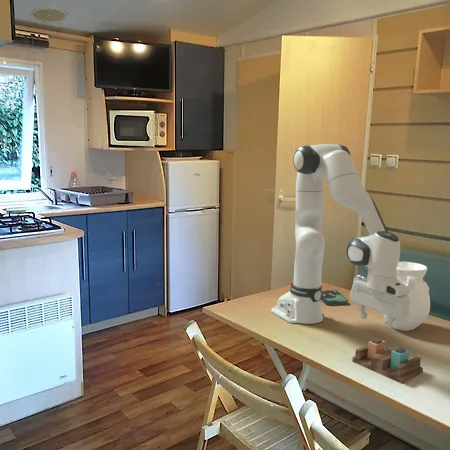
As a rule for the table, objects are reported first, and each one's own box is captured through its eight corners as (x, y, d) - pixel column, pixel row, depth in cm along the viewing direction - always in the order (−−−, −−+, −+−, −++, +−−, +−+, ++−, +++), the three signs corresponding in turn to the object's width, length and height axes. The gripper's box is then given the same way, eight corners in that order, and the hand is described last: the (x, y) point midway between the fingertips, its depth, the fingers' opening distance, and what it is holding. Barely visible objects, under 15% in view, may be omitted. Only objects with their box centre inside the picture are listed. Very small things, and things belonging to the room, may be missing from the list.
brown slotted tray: (352, 361, 155) (353, 348, 154) (373, 352, 163) (374, 339, 162) (401, 383, 141) (403, 369, 141) (422, 372, 149) (423, 358, 148)
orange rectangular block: (367, 357, 155) (368, 340, 154) (375, 353, 158) (377, 336, 157) (375, 361, 152) (376, 343, 151) (383, 356, 156) (385, 339, 155)
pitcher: (432, 337, 176) (439, 273, 171) (381, 333, 179) (386, 269, 175) (422, 319, 194) (428, 261, 189) (376, 315, 197) (380, 258, 193)
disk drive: (315, 296, 223) (326, 306, 209) (315, 290, 223) (326, 300, 208) (336, 295, 225) (348, 305, 210) (336, 289, 224) (349, 299, 210)
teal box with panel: (390, 367, 148) (391, 349, 147) (398, 363, 151) (400, 345, 150) (398, 371, 146) (400, 353, 145) (407, 366, 149) (409, 349, 148)
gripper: (348, 274, 157) (343, 313, 159) (403, 293, 141) (396, 336, 143) (360, 272, 161) (355, 310, 163) (415, 290, 145) (408, 332, 147)
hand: (375, 322), depth 153 cm, fingers open, 8 cm apart
